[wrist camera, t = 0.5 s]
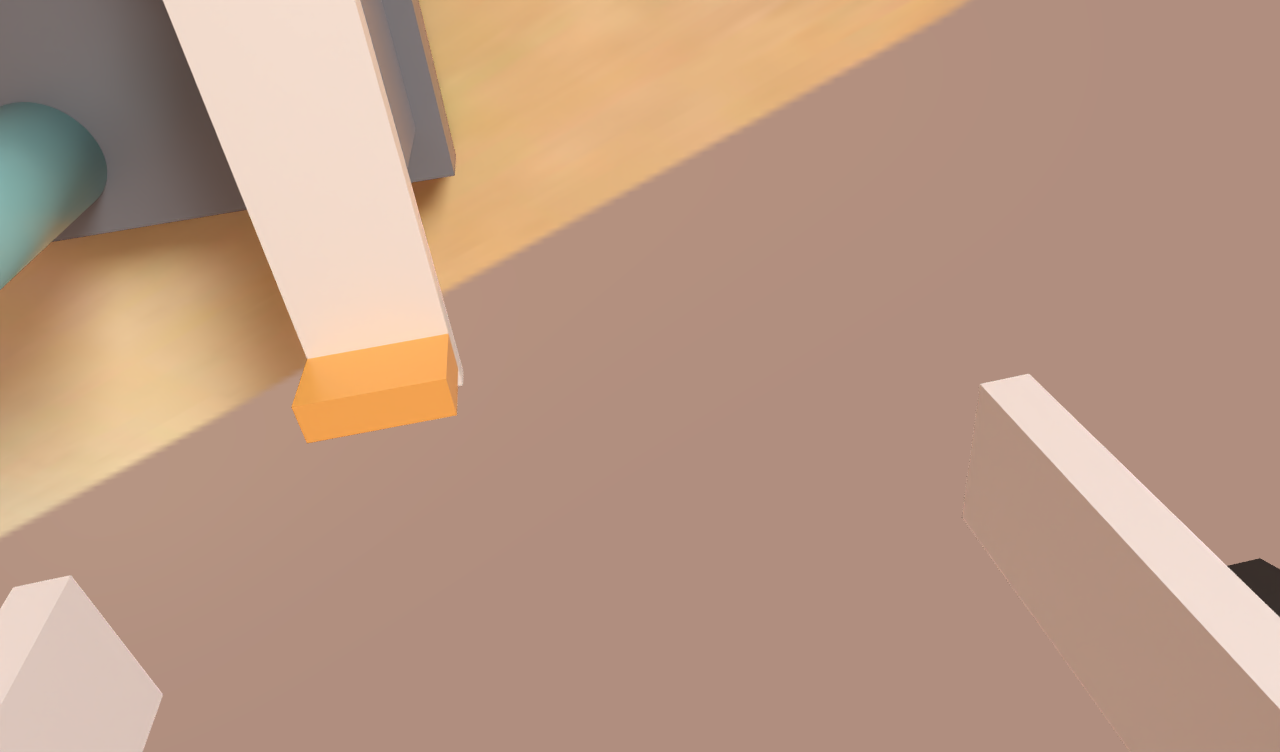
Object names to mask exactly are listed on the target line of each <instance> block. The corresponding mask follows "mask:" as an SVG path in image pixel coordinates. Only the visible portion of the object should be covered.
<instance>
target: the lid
mask: <svg viewBox="0 0 1280 752" xmlns="http://www.w3.org/2000/svg"><path fill="white" fill-rule="evenodd" d="M163 2H164V4H165V7H166V9H167V12H168V14H169V17H170V19H171V22H172V24H173V27H174V29H175V32H176V34H177V37H178V39H179V42H180V44H181V47H182V49H183V52H184V54H185V57H186V59H187V62H188V64H189V67H190V69H191V72H192V74H193V77H194V79H195V82H196V84H197V86H198V89H199V91H200V94H201V96H202V99H203V101H204V104H205V106H206V109H207V111H208V114H209V116H210V119H211V121H212V124H213V126H214V129H215V131H216V134H217V136H218V139H219V141H220V144H221V146H222V149H223V151H224V154H225V156H226V159H227V161H228V164H229V166H230V169H231V171H232V173H233V176H234V178H235V181H236V183H237V186H238V188H239V191H240V193H241V196H242V198H243V201H244V203H245V206H246V208H247V211H248V213H249V216H250V218H251V221H252V223H253V226H254V228H255V231H256V233H257V236H258V238H259V241H260V243H261V246H262V248H263V251H264V253H265V256H266V258H267V261H268V263H269V265H270V268H271V270H272V273H273V275H274V278H275V280H276V283H277V285H278V288H279V290H280V293H281V295H282V298H283V300H284V303H285V305H286V308H287V310H288V313H289V315H290V318H291V320H292V323H293V325H294V328H295V330H296V333H297V335H298V338H299V340H300V343H301V345H302V348H303V350H304V352H305V355H306V357H307V361H306V364H305V367H304V370H303V373H302V376H301V379H300V383H299V386H298V389H297V392H296V395H295V398H294V401H293V404H292V410H293V412H294V414H295V416H296V419H297V421H298V424H299V426H300V428H301V430H302V433H303V435H304V437H305V440H306V442H307V443H312V442H317V441H322V440H328V439H333V438H338V437H343V436H349V435H354V434H359V433H365V432H370V431H375V430H381V429H386V428H391V427H396V426H402V425H407V424H413V423H418V422H423V421H428V420H434V419H439V418H444V417H449V416H455V415H457V392H458V386H460V385H463V368H462V365H461V361H460V358H459V354H458V350H457V347H456V343H455V340H454V336H453V333H452V329H451V325H450V322H449V318H448V314H447V311H446V307H445V303H444V300H443V296H442V293H441V289H440V285H439V282H438V278H437V275H436V271H435V267H434V264H433V260H432V257H431V253H430V249H429V246H428V242H427V239H426V235H425V231H424V228H423V224H422V221H421V217H420V213H419V210H418V206H417V203H416V199H415V195H414V192H413V188H412V185H411V181H410V177H409V174H408V170H407V167H406V163H405V159H404V156H403V152H402V149H401V145H400V141H399V138H398V134H397V131H396V127H395V123H394V120H393V116H392V113H391V109H390V105H389V102H388V98H387V95H386V91H385V87H384V84H383V80H382V77H381V73H380V69H379V66H378V62H377V59H376V55H375V51H374V48H373V44H372V41H371V37H370V33H369V30H368V26H367V23H366V19H365V15H364V12H363V8H362V5H361V1H360V0H163Z"/></svg>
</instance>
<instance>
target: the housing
mask: <svg viewBox="0 0 1280 752" xmlns="http://www.w3.org/2000/svg"><path fill="white" fill-rule="evenodd" d="M360 1H361V5H362V8H363V12H364V15H365V19H366V23H367V26H368V30H369V33H370V37H371V41H372V44H373V48H374V51H375V55H376V59H377V62H378V66H379V69H380V73H381V77H382V80H383V84H384V87H385V91H386V95H387V98H388V102H389V105H390V109H391V113H392V116H393V120H394V123H395V127H396V131H397V134H398V138H399V141H400V145H401V149H402V152H403V156H404V159H405V163H406V167H407V170H408V174H409V177H410V181H411V183H412V182H418V181H424V180H430V179H436V178H442V177H448V176H454V175H455V162H456V154H455V150H454V146H453V142H452V137H451V133H450V129H449V125H448V121H447V117H446V113H445V108H444V104H443V100H442V96H441V92H440V88H439V83H438V79H437V75H436V71H435V67H434V63H433V59H432V54H431V50H430V46H429V42H428V38H427V34H426V30H425V25H424V21H423V17H422V13H421V9H420V5H419V0H360ZM242 210H247V208H246V206H245V203H244V201H243V198H242V196H241V193H240V191H239V188H238V186H237V183H236V181H235V178H234V176H233V173H232V171H231V169H230V166H229V164H228V161H227V159H226V156H225V154H224V151H223V149H222V146H221V144H220V141H219V139H218V136H217V134H216V131H215V129H214V126H213V124H212V121H211V119H210V116H209V114H208V111H207V109H206V106H205V104H204V101H203V99H202V96H201V94H200V91H199V89H198V86H197V84H196V82H195V79H194V77H193V74H192V72H191V69H190V67H189V64H188V62H187V59H186V57H185V54H184V52H183V49H182V47H181V44H180V42H179V39H178V37H177V34H176V32H175V29H174V27H173V24H172V22H171V19H170V17H169V14H168V12H167V9H166V7H165V4H164V2H163V0H0V290H1V289H2V288H3V287H4V286H5V285H6V284H7V283H8V282H9V281H10V280H11V279H12V278H13V277H15V276H16V275H17V274H18V273H19V272H20V271H21V270H22V269H23V268H24V267H25V266H26V265H27V264H28V263H30V262H31V261H32V260H33V259H34V258H35V257H36V256H37V255H38V254H39V253H40V252H41V251H42V250H43V249H44V248H46V247H47V246H48V245H49V244H50V243H51V242H54V241H60V240H66V239H72V238H78V237H84V236H90V235H96V234H102V233H108V232H114V231H120V230H127V229H133V228H139V227H145V226H151V225H157V224H163V223H169V222H175V221H181V220H187V219H193V218H199V217H205V216H212V215H218V214H224V213H230V212H236V211H242Z"/></svg>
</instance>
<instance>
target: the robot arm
mask: <svg viewBox="0 0 1280 752" xmlns="http://www.w3.org/2000/svg"><path fill="white" fill-rule="evenodd" d="M962 518H963V520H964V521H965V522H966V524H967V525H968V527H969V528H970V529H971V531H972V532H973V534H974V535H975V536H976V538H977V539H978V541H979V542H980V543H981V545H982V546H983V548H984V549H985V550H986V552H987V553H988V555H989V556H990V557H991V559H992V560H993V562H994V563H995V564H996V566H997V567H998V569H999V570H1000V571H1001V573H1002V574H1003V576H1004V577H1005V578H1006V580H1007V581H1008V583H1009V584H1010V585H1011V587H1012V588H1013V590H1014V591H1015V592H1016V594H1017V595H1018V597H1019V598H1020V599H1021V601H1022V602H1023V604H1024V605H1025V606H1026V608H1027V609H1028V610H1029V612H1030V613H1031V615H1032V616H1033V618H1034V619H1035V620H1036V622H1037V623H1038V624H1039V626H1040V627H1041V629H1042V630H1043V631H1044V633H1045V634H1046V635H1047V637H1048V638H1049V640H1050V641H1051V643H1052V644H1053V645H1054V647H1055V648H1056V649H1057V651H1058V652H1059V654H1060V655H1061V657H1062V658H1063V659H1064V661H1065V662H1066V664H1067V665H1068V666H1069V668H1070V669H1071V671H1072V672H1073V673H1074V675H1075V676H1076V678H1077V679H1078V680H1079V682H1080V683H1081V685H1082V686H1083V687H1084V689H1085V690H1086V691H1087V693H1088V694H1089V696H1090V697H1091V699H1092V700H1093V701H1094V703H1095V704H1096V705H1097V706H1098V708H1099V710H1100V711H1101V712H1102V714H1103V715H1104V717H1105V718H1106V719H1107V721H1108V722H1109V724H1110V725H1111V726H1112V728H1113V729H1114V731H1115V732H1116V733H1117V735H1118V736H1119V737H1120V739H1121V740H1122V742H1123V743H1124V745H1125V746H1126V747H1127V749H1128V750H1129V751H1130V752H1280V569H1278V568H1276V567H1275V566H1273V565H1271V564H1269V563H1267V562H1266V561H1264V560H1262V559H1255V560H1251V561H1247V562H1242V563H1238V564H1234V565H1230V566H1226V565H1225V564H1224V563H1223V562H1222V561H1221V560H1220V559H1219V558H1218V557H1217V556H1216V555H1215V554H1214V553H1213V552H1212V551H1211V550H1210V549H1209V548H1208V547H1207V546H1206V545H1205V544H1204V543H1203V542H1202V541H1201V540H1199V538H1197V537H1196V536H1195V535H1194V534H1193V533H1192V532H1191V531H1190V530H1189V529H1188V528H1187V527H1186V526H1185V525H1184V524H1183V523H1182V522H1181V521H1180V520H1179V519H1178V518H1177V517H1176V516H1175V515H1174V514H1173V513H1172V512H1171V511H1170V510H1169V509H1168V508H1167V507H1166V506H1164V505H1163V504H1162V503H1161V502H1160V501H1159V500H1158V499H1157V498H1156V497H1155V496H1154V495H1153V494H1152V493H1151V492H1150V491H1149V490H1148V489H1147V488H1146V487H1145V486H1144V485H1143V484H1142V483H1141V482H1140V481H1139V480H1138V479H1137V478H1136V477H1135V476H1134V475H1133V474H1132V473H1130V471H1128V470H1127V469H1126V468H1125V467H1124V466H1123V465H1122V464H1121V463H1120V462H1119V461H1118V460H1117V459H1116V458H1115V457H1114V456H1113V455H1112V454H1111V453H1110V452H1109V451H1108V450H1107V449H1106V448H1105V447H1104V446H1103V445H1102V444H1101V443H1100V442H1099V441H1098V440H1097V439H1096V438H1094V437H1093V436H1092V435H1091V434H1090V433H1089V432H1088V431H1087V430H1086V429H1085V428H1084V427H1083V426H1082V425H1081V424H1080V423H1079V422H1078V421H1077V420H1076V419H1075V418H1074V417H1073V416H1072V415H1071V414H1070V413H1069V412H1068V411H1067V410H1066V409H1065V408H1064V407H1062V406H1061V405H1060V404H1059V403H1058V402H1057V401H1056V400H1055V399H1054V398H1053V397H1052V396H1051V395H1050V394H1049V393H1048V392H1047V391H1046V390H1045V389H1044V388H1043V387H1042V386H1041V385H1040V384H1039V383H1038V382H1037V381H1036V380H1035V379H1034V378H1033V377H1032V376H1031V375H1029V374H1026V375H1021V376H1017V377H1011V378H1007V379H1002V380H997V381H992V382H988V383H983V384H980V388H979V396H978V403H977V411H976V418H975V425H974V432H973V439H972V447H971V455H970V461H969V468H968V476H967V483H966V491H965V497H964V505H963V512H962ZM162 696H163V694H162V693H161V691H160V690H159V689H158V688H157V686H156V685H155V684H154V682H153V681H152V680H151V678H150V677H149V676H148V675H147V673H146V672H145V671H144V669H143V668H142V667H141V665H140V664H139V663H138V662H137V660H136V659H135V658H134V656H133V655H132V654H131V652H130V651H129V650H128V649H127V647H126V646H125V645H124V643H123V642H122V641H121V639H120V638H119V637H118V636H117V634H116V633H115V632H114V630H113V629H112V628H111V627H110V625H109V624H108V623H107V621H106V620H105V619H104V617H103V616H102V615H101V614H100V612H99V611H98V610H97V608H96V607H95V606H94V604H93V603H92V602H91V601H90V599H89V598H88V597H87V595H86V594H85V593H84V591H83V590H82V589H81V588H80V587H79V585H78V584H77V583H76V581H75V580H74V579H73V577H72V576H71V575H70V576H65V577H61V578H56V579H51V580H46V581H41V582H37V583H32V584H27V585H22V586H18V587H13V589H12V591H11V592H10V594H9V595H8V597H7V599H6V600H5V602H4V604H3V605H2V607H1V609H0V752H143V749H144V746H145V743H146V740H147V737H148V735H149V732H150V729H151V726H152V723H153V721H154V718H155V715H156V712H157V710H158V707H159V704H160V701H161V699H162Z"/></svg>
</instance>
